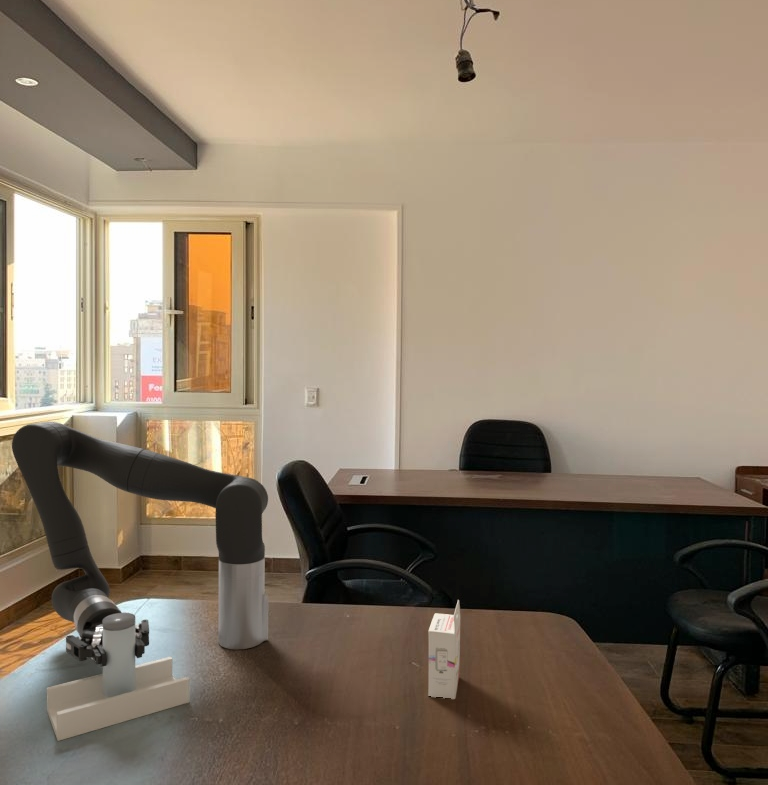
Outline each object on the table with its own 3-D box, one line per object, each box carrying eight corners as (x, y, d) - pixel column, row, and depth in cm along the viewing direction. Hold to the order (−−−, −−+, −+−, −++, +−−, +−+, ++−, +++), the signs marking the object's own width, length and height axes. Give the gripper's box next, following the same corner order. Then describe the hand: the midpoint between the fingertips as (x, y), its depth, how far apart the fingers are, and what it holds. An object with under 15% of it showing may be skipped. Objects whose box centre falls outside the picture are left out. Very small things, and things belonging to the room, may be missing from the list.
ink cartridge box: (432, 674, 120) (434, 596, 119) (459, 677, 119) (461, 598, 118) (426, 697, 111) (428, 613, 111) (455, 700, 110) (457, 616, 110)
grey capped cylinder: (130, 679, 110) (130, 610, 110) (138, 692, 106) (138, 620, 106) (99, 687, 107) (99, 616, 107) (106, 700, 103) (106, 627, 103)
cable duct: (170, 678, 117) (170, 656, 117) (189, 702, 109) (189, 678, 108) (47, 711, 105) (46, 687, 105) (57, 741, 97) (57, 714, 97)
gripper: (55, 609, 114) (74, 644, 100) (139, 593, 123) (167, 623, 109) (55, 650, 115) (74, 691, 101) (139, 632, 123) (167, 667, 109)
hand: (122, 656), depth 105 cm, fingers closed on grey capped cylinder, 5 cm apart
